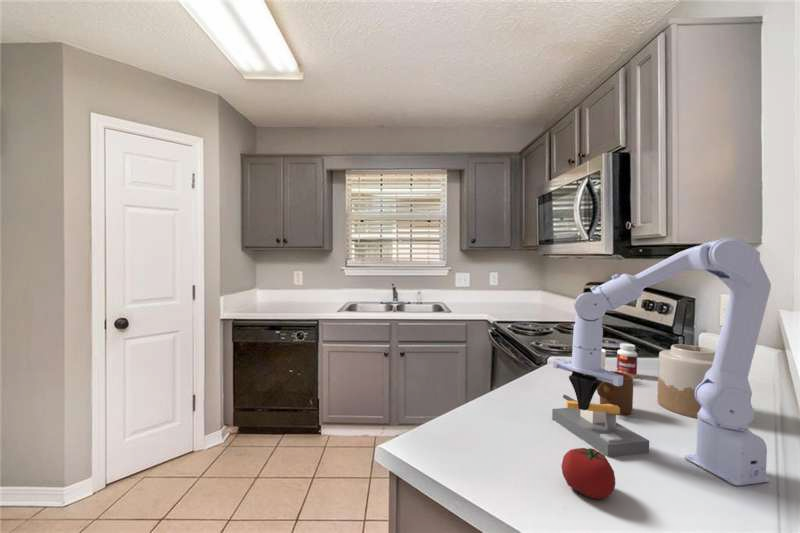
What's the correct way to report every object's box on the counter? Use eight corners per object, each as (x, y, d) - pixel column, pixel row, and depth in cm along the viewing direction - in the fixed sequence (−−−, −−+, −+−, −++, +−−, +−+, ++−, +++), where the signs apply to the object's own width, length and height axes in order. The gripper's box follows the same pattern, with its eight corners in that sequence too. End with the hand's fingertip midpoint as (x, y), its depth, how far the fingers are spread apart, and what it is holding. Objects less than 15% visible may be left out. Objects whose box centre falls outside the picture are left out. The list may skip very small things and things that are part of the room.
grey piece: (649, 452, 74) (650, 423, 74) (607, 456, 72) (608, 427, 72) (586, 416, 92) (587, 392, 92) (552, 418, 90) (552, 394, 90)
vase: (684, 419, 91) (686, 354, 91) (645, 397, 107) (646, 341, 107) (745, 422, 91) (748, 356, 91) (697, 399, 106) (699, 343, 106)
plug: (607, 422, 83) (608, 409, 83) (592, 423, 82) (593, 410, 82) (571, 401, 95) (571, 390, 95) (557, 402, 94) (558, 391, 94)
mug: (612, 421, 90) (613, 383, 90) (583, 410, 96) (584, 374, 96) (638, 412, 96) (639, 376, 96) (609, 402, 102) (610, 369, 102)
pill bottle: (616, 376, 127) (617, 345, 127) (615, 371, 133) (616, 342, 133) (637, 379, 125) (638, 347, 124) (635, 374, 130) (636, 344, 130)
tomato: (597, 477, 65) (598, 437, 65) (626, 507, 57) (627, 462, 57) (553, 477, 65) (554, 437, 65) (577, 507, 57) (578, 461, 57)
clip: (616, 410, 80) (616, 404, 80) (620, 415, 78) (620, 409, 78) (565, 404, 83) (565, 399, 83) (568, 409, 80) (568, 403, 80)
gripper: (631, 353, 75) (627, 417, 76) (566, 339, 87) (563, 394, 88) (615, 356, 72) (611, 424, 72) (549, 341, 83) (545, 399, 84)
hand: (583, 408), depth 79 cm, fingers closed, pressing on clip
